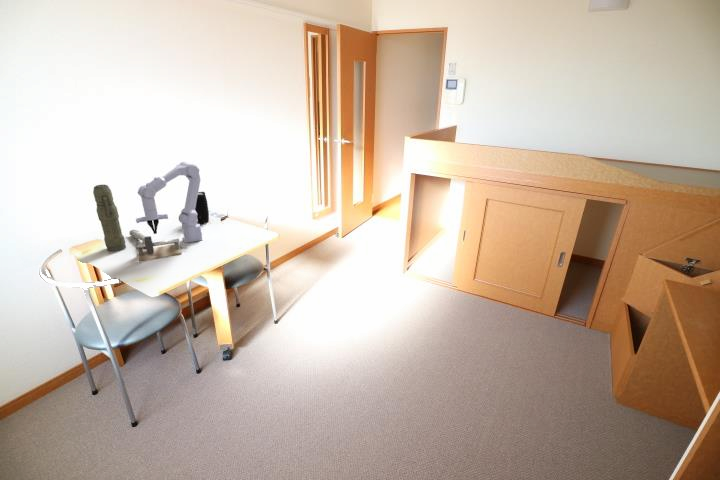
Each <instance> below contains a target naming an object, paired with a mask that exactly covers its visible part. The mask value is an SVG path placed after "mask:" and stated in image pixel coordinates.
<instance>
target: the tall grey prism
mask: <svg viewBox="0 0 720 480" xmlns="http://www.w3.org/2000/svg"><path fill="white" fill-rule="evenodd" d="M148 236H149V235H148ZM144 239H145V245H146V248H145V249H146V250H147V254H153V253H154V249H153V248H154V246H153V245H152V241H153V240H152V236H151V235H150V236H149V237H144Z"/></svg>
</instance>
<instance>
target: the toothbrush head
mask: <svg viewBox="0 0 720 480" xmlns="http://www.w3.org/2000/svg"><path fill="white" fill-rule="evenodd" d="M129 235H130V236H131V237H132V238H134V239H137V240H139V241H140V242H141V241H142V242H141V244H145V239H144V237H149V235H148V236H145V235H144V234H143V233H141V232H140V231H139V230H138V229H137V230H136V229H130V231H129ZM152 243H154V242H153V240H152ZM141 244H140V245H141Z"/></svg>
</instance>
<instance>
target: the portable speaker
mask: <svg viewBox="0 0 720 480" xmlns="http://www.w3.org/2000/svg"><path fill="white" fill-rule="evenodd" d="M195 211H196V213H197V219H198V222H197V224H200V223H203V224H207V223H209V222H210V214H209V205H208V199H207V196H206V192H205V191H198V196H197V202H196V207H195Z"/></svg>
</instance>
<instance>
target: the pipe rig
mask: <svg viewBox="0 0 720 480" xmlns="http://www.w3.org/2000/svg"><path fill="white" fill-rule="evenodd" d="M152 245H153V249H154V253H153V254H147V250H146V245H145V244H135V248H136V250H137V259H138V262H144V261H148V260H149V261H150V260H156V259H161V257H162V258H167V256H168V257H172V255H173V256H178V255H177V254H179V255H182V254H183V253H182V248H181V245H180V240H179V238H176V239H175V238H174V239H168V240H163V241H162V240H161V241H154V242H153V243H152ZM163 245H164V246H163Z"/></svg>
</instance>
